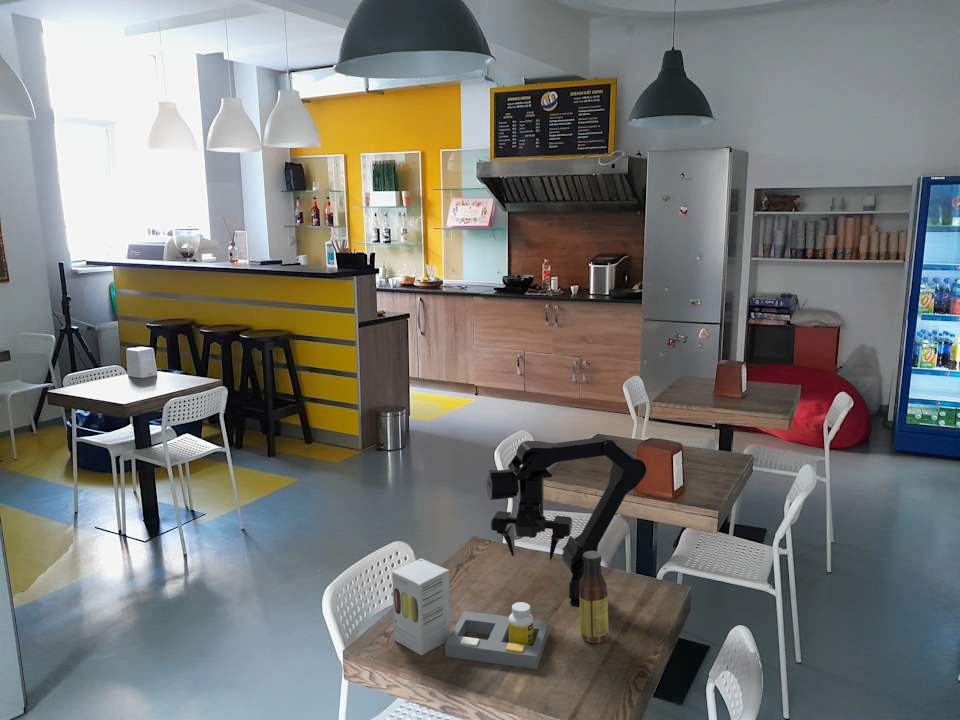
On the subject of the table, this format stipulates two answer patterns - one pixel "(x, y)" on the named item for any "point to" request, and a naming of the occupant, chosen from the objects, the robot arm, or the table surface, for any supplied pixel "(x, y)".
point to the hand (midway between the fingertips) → (532, 557)
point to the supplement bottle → (521, 624)
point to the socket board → (495, 641)
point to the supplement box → (421, 606)
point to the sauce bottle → (593, 600)
